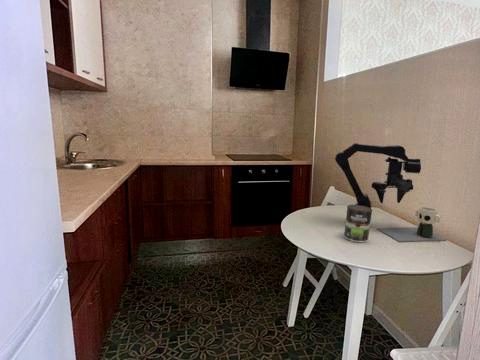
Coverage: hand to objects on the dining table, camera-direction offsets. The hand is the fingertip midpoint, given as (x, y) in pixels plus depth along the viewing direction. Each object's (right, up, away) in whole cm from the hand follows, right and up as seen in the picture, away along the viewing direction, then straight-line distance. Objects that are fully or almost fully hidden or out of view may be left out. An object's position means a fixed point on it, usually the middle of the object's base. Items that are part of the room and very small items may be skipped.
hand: (389, 203), depth 142 cm
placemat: (+7, -15, -5) cm, 17 cm away
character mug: (+12, -15, -7) cm, 20 cm away
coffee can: (-21, -15, -12) cm, 29 cm away
